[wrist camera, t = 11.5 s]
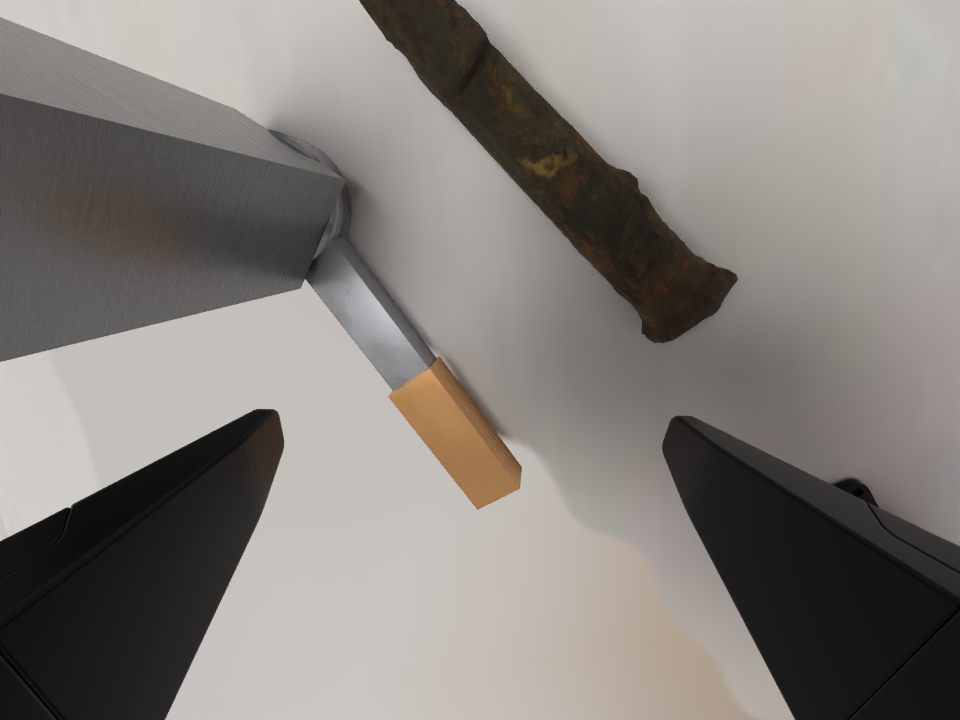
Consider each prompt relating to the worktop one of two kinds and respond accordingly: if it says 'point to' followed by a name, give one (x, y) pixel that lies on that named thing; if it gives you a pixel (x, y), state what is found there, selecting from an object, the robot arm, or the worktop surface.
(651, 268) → the hand tool
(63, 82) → the grey metal square prism
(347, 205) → the ratchet
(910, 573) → the robot arm
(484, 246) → the worktop surface
